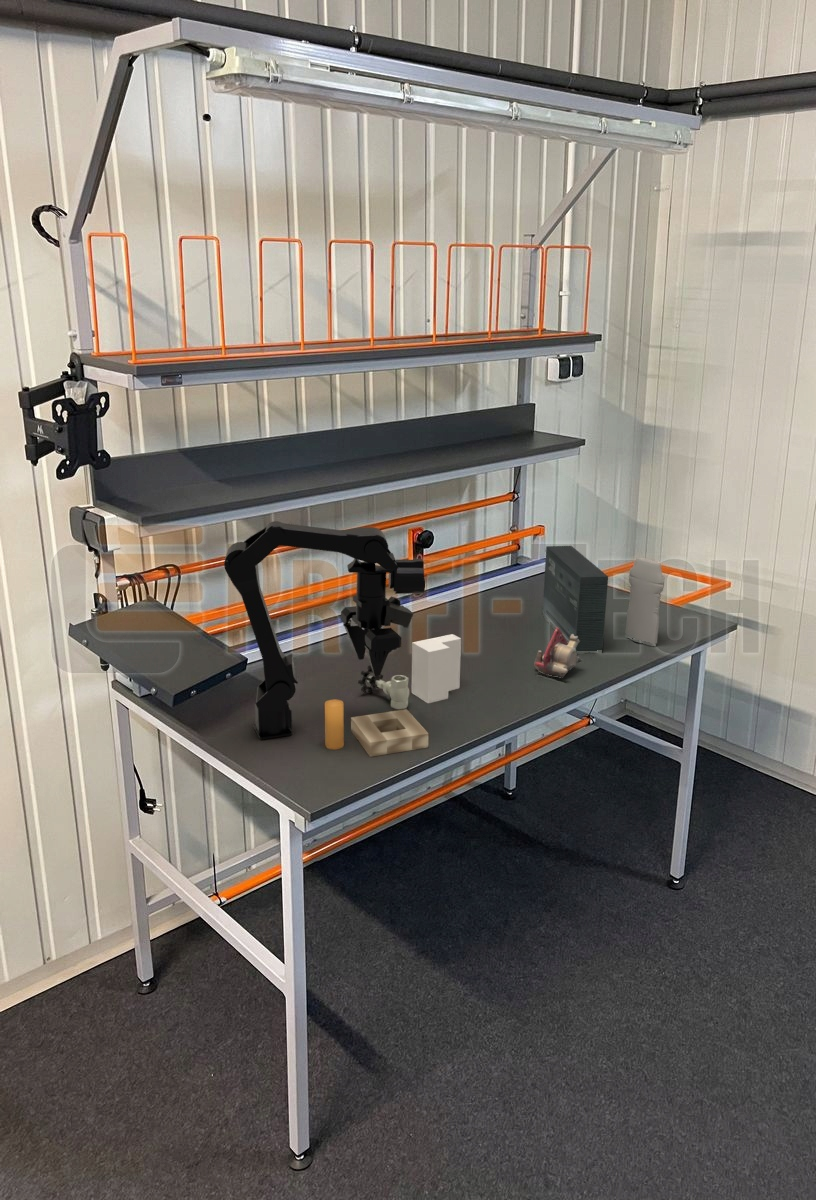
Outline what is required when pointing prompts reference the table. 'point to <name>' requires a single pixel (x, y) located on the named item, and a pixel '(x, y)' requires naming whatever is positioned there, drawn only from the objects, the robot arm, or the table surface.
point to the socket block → (389, 732)
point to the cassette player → (575, 596)
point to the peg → (334, 724)
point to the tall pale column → (644, 600)
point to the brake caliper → (558, 655)
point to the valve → (387, 687)
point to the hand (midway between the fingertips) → (368, 667)
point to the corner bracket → (436, 667)
